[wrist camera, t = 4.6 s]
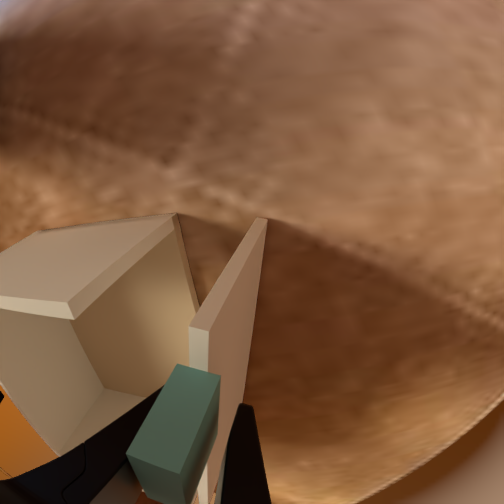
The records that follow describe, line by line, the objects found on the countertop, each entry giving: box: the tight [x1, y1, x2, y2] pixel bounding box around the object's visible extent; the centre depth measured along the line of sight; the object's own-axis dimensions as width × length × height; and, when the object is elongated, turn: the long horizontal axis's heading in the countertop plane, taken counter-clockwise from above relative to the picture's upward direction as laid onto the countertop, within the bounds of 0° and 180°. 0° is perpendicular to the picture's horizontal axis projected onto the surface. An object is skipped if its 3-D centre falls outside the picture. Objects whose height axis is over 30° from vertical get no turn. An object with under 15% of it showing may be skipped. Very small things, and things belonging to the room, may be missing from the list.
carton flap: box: [126, 218, 268, 504], centre depth 12 cm, size 1×14×11 cm, turn 174°
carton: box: [0, 213, 200, 504], centre depth 16 cm, size 11×14×8 cm
